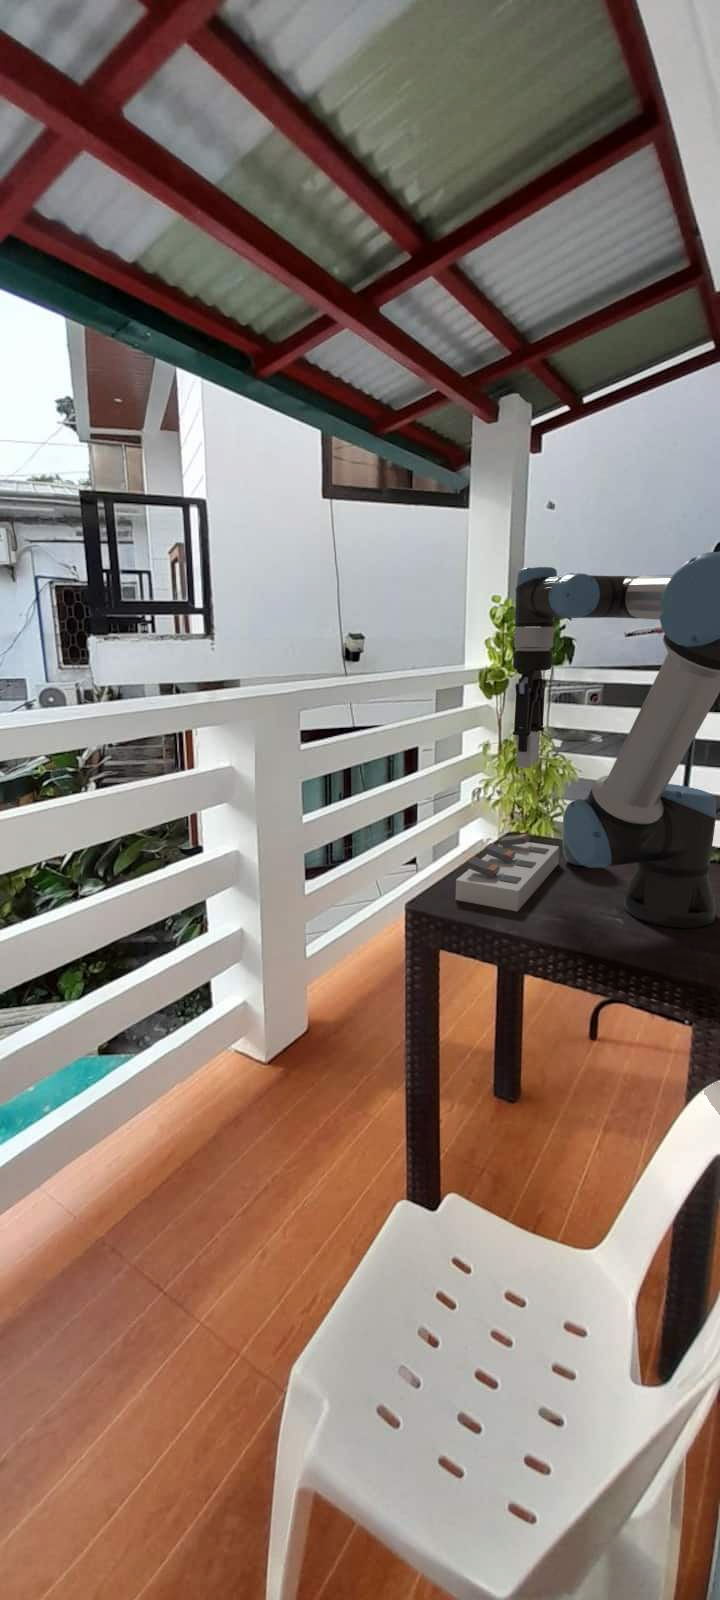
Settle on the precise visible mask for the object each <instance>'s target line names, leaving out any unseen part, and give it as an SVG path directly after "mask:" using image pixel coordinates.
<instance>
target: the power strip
mask: <svg viewBox="0 0 720 1600" xmlns="http://www.w3.org/2000/svg"><path fill="white" fill-rule="evenodd" d="M497 845H498V846H500V843H499V844H497ZM500 847H503V848H505V849H508V850H510V851H513V852H515V853H516V855H515V858H514V859H513V860H512V861H511V862H510V863H507V862H505V861H503V860H500V859H498V858H495V857H493V856H490V855H488V854H485V856H483V857H482V858H481V859H482V860H484V861H487V862H489V863H492V864H494V865H497V866H499V867H500V870H499V873H498V874H497V875H496V876H495V877H494V878H491V877H488V876H486V875H483V874H481V873H479V872H476V871H474V870H472V869H469V868H468V870H466V871H465V872H463V873H462V875H460V876H459V877H458V878H456V879H455V901H460V902H465V903H469V904H470V903H471V904H476V905H481V906H487V907H490V908H491V907H493V908H497V909H501V910H507V911H513V912H518V911H519V910H520V909H521V908H522V907H523V906H524V904H525V903H526V902H527V901H528V900H529V899H530V898H531V896H532V895H533V894H534V892H535V893H536V890H538V888H539V887H540V886H541V885H542V883H543V882H544V881H545V880H546V879H547V878H548V876H549V875H551V873H552V872H553V871H554V870H555V868H556V867H558V866H559V857H560V856H559V855H560V846H557V845H551V844H543V843H537V842H529V841H528V842H526V843H525V844H517V845H507V846H500Z"/></svg>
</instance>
